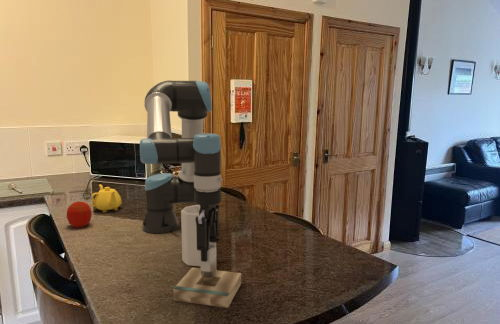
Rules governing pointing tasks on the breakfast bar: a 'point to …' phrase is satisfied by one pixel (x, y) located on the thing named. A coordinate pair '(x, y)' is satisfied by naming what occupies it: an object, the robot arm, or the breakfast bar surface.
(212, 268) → the grey metal cylinder
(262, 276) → the breakfast bar surface
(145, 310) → the breakfast bar surface
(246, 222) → the breakfast bar surface
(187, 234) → the cup
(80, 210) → the apple
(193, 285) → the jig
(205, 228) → the robot arm
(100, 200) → the teapot
